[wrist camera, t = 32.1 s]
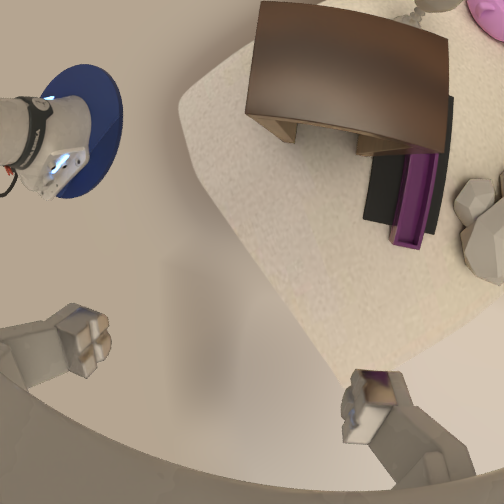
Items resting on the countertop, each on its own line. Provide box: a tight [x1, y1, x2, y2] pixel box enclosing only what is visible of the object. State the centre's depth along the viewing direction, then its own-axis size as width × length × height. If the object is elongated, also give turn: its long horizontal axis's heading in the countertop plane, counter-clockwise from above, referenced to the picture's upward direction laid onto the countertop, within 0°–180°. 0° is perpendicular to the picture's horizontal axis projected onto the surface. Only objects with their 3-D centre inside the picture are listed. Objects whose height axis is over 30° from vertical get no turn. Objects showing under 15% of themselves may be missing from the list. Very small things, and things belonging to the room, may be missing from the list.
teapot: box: [467, 0, 504, 42], centre depth 20 cm, size 12×14×9 cm
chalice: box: [393, 0, 463, 29], centre depth 22 cm, size 7×7×18 cm
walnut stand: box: [245, 1, 449, 157], centre depth 26 cm, size 8×12×26 cm, turn 83°
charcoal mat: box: [363, 95, 454, 235], centre depth 36 cm, size 22×12×1 cm, turn 173°
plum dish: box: [389, 153, 439, 250], centre depth 36 cm, size 22×4×3 cm, turn 173°
